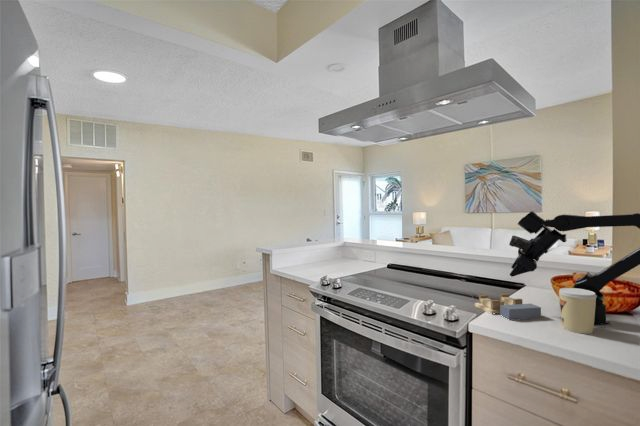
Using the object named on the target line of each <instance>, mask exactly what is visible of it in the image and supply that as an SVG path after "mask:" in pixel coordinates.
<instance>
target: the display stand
mask: <svg viewBox="0 0 640 426" xmlns="http://www.w3.org/2000/svg"><path fill="white" fill-rule="evenodd" d="M515 304H523V298H513V297H510V294H509V293H500V294H499V299H491V298H490V297H489V296H488V294H478V302H474V306H475V307H476V308H479V309H481V310H482V311H483V312H486V313H488V312H490V313H500V305H515ZM490 313H489V314H490Z"/></svg>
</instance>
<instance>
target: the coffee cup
mask: <svg viewBox="0 0 640 426" xmlns="http://www.w3.org/2000/svg"><path fill="white" fill-rule="evenodd" d="M558 294H559V295H558V296H559V309H560V310H559V311H560V319H561V320H560V321H561V327H562V328H563V330H567V331H569V332H572V333H576V334H584V335H585V334H587V335H590V334H592V333H593V332H594V329H595V325H594V318H595V306H596V298H597V296H596V294H595V293H594V292H592V291H589V290H585V289H578V288H573V287H561V288H559V290H558ZM593 334H594V333H593Z"/></svg>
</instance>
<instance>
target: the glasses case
mask: <svg viewBox="0 0 640 426" xmlns="http://www.w3.org/2000/svg"><path fill="white" fill-rule="evenodd" d="M499 315H502V316H503V317H502V316H501V317H502V318H504V317H505V318H504V319H506V318H507V319H506V320H508V319H509V320H508V321H513V320H512V319H520V320H533V319H541V318H542V307H540V306H538V305H536V304H533V303H522V304H515V305H500V314H499ZM532 318H533V319H532Z"/></svg>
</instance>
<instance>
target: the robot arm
mask: <svg viewBox="0 0 640 426" xmlns="http://www.w3.org/2000/svg"><path fill="white" fill-rule="evenodd" d="M517 225H518V226H520V227H521V228H522V229H524V230H525V231H526V232H527V233H529V234H530V235H532V234H535V235H536V236H535V237H532V238H531V239H525V238H524V237H519V236H516V235H512V236H511V238H510V240H509V244H508V246H510V247H512V248H513V247H515V248H517V252H518V256H517V257H516V258H515V260H514V262H513V264H512V265H511V269H512V270H511V272H510V273H509V276H510V277H516V276H519V275H522V274H525V273H529V272H534V271H535V270H536V269H537V267H538V264H537V262H538V261H539V260H540V258H541V257H542V256H543V255H544V254H547V253H548V252H549V250H550V248H552V247H553V246H554V245H555V244H556V243H557V242H559V241H561V242H563V243H566V242H567V234H566V233H564V234H563V233H561V232H569V231H574V230H582V229H584V228H585V229H586V228H602V227H603V228H605V227H607V228H608V227H609V228H610V227H636V228H638V229H639V230H640V212H635V213H631V214H630V213H627V214H611V215H608V214H607V215H592V216H591V215H588V216H586V215H578V214H575V215H574V214H565V213H564V214H559V215H556V216H555V217H554V218H553V219H543V218H542V217H541V216H539V215H538V214H537V213H536V212H535V211H533V210H532V211H531V210H530V211H529V212H528V213H527V214H526V215H525V216H523V217H522V218H521V219H520V220H519V221H518V223H517ZM551 228H554V229H551ZM639 265H640V247H638V248H636V249H635V250H634V251H633V250H632V252H630V253H629V254H627V255H625V256H623V257H622V258H621V259H619V260H617V261H614V263H612V264H611V265H609V266H607V267H606V268H604V269H603V270H600V271H599V272H598V273H594V274H591V273H590V271H587V272H586V273H585V274H584V275H583V276H581V277H578V278H577V279H576V280H575V283H574V285H573V287H572V288H578V289H585V290H589V291H592V292H594V293H595V294H596V296H597V298H596V306H595V318H594V326H596V325H608V324H611V322H610V321H608V320H607V305H606V304H604V301H605V297H606V295H605V294H603V293H602V292H601V290H602V289H603V288H605V286H607V284H609V283H611V282H612V281H614V280H616V279H617V278H620V277H621V276H622V275H624V274H626V273H628V272H630V271H631V270H633V269H635V268H636V267H638V266H639Z"/></svg>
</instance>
